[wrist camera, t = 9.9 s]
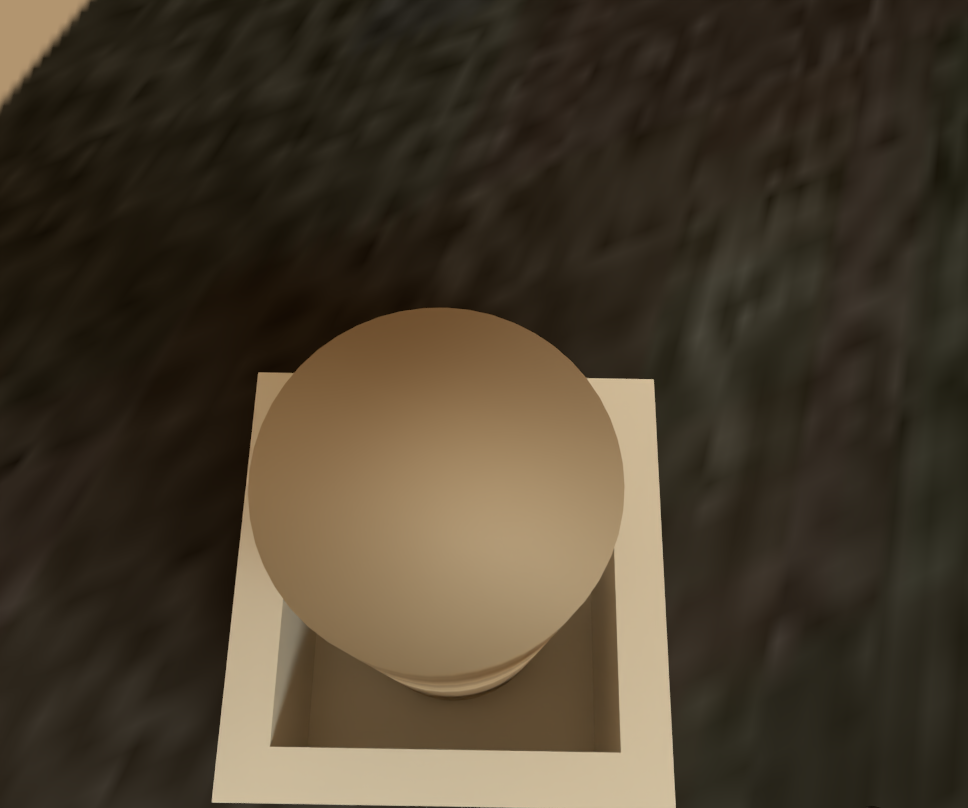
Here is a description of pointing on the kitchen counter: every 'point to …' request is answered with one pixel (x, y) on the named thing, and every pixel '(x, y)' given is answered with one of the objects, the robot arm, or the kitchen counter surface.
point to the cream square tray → (472, 722)
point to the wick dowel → (437, 496)
